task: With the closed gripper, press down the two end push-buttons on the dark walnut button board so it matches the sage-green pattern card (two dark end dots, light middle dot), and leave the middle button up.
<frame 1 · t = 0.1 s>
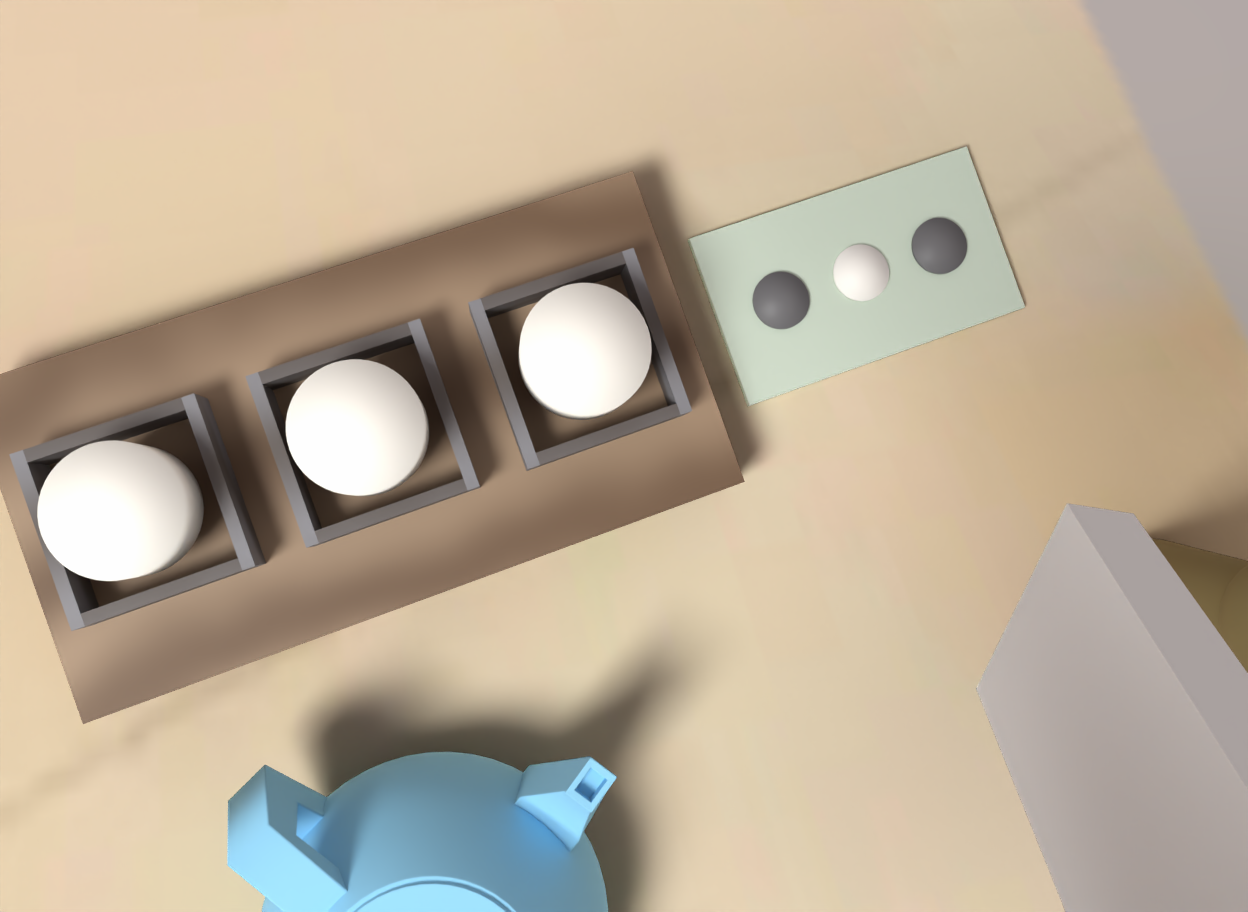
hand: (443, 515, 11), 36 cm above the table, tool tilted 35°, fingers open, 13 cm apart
button board: (377, 440, 46), on the table
teapot: (445, 909, 46), on the table
end button b: (123, 510, 39), point 6 cm above the table, slide at 0.0 cm
pattern card: (857, 275, 49), on the table
middle button: (360, 429, 40), point 6 cm above the table, slide at 0.0 cm
end button a: (583, 353, 42), point 6 cm above the table, slide at 0.0 cm
olive game pawn: (1146, 601, 50), on the table
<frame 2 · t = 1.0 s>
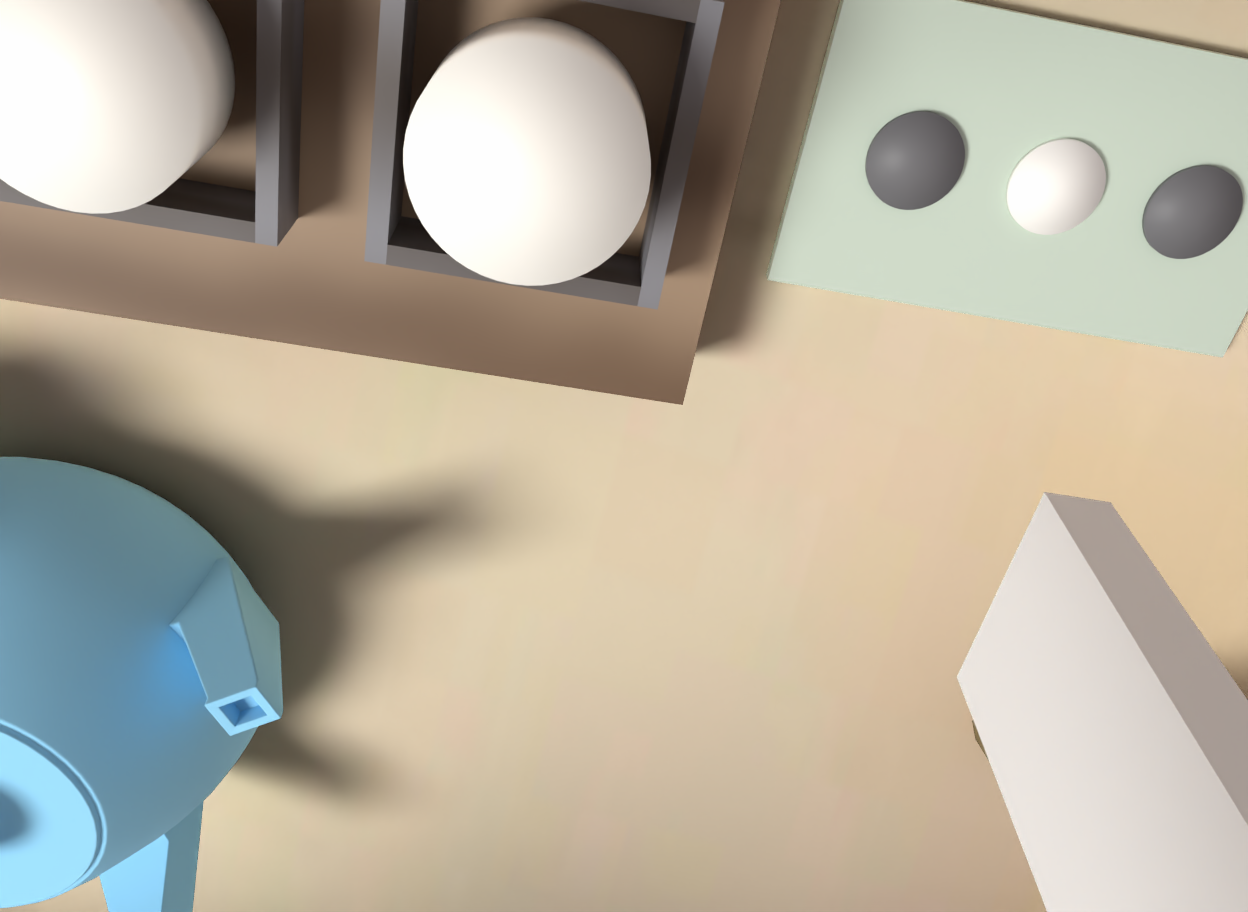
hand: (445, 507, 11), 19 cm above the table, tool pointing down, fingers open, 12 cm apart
button board: (189, 21, 27), on the table
teapot: (87, 605, 37), on the table
pattern card: (1048, 181, 29), on the table
middle button: (91, 73, 22), point 6 cm above the table, slide at 0.0 cm
end button a: (531, 152, 23), point 6 cm above the table, slide at 0.0 cm
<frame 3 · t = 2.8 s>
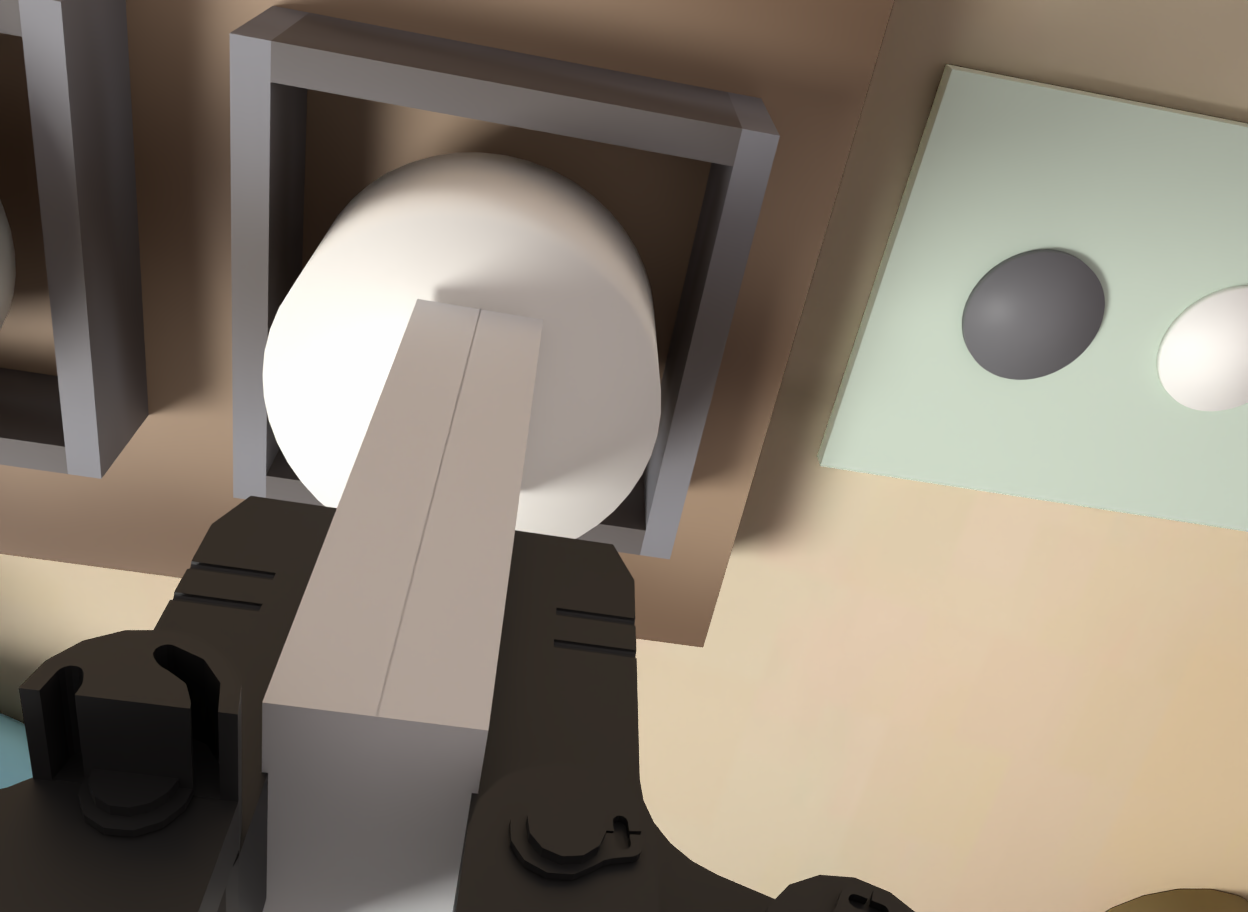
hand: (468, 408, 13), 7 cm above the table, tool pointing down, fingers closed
pattern card: (1215, 338, 21), on the table
end button a: (474, 361, 15), point 6 cm above the table, slide at 0.2 cm, touching gripper
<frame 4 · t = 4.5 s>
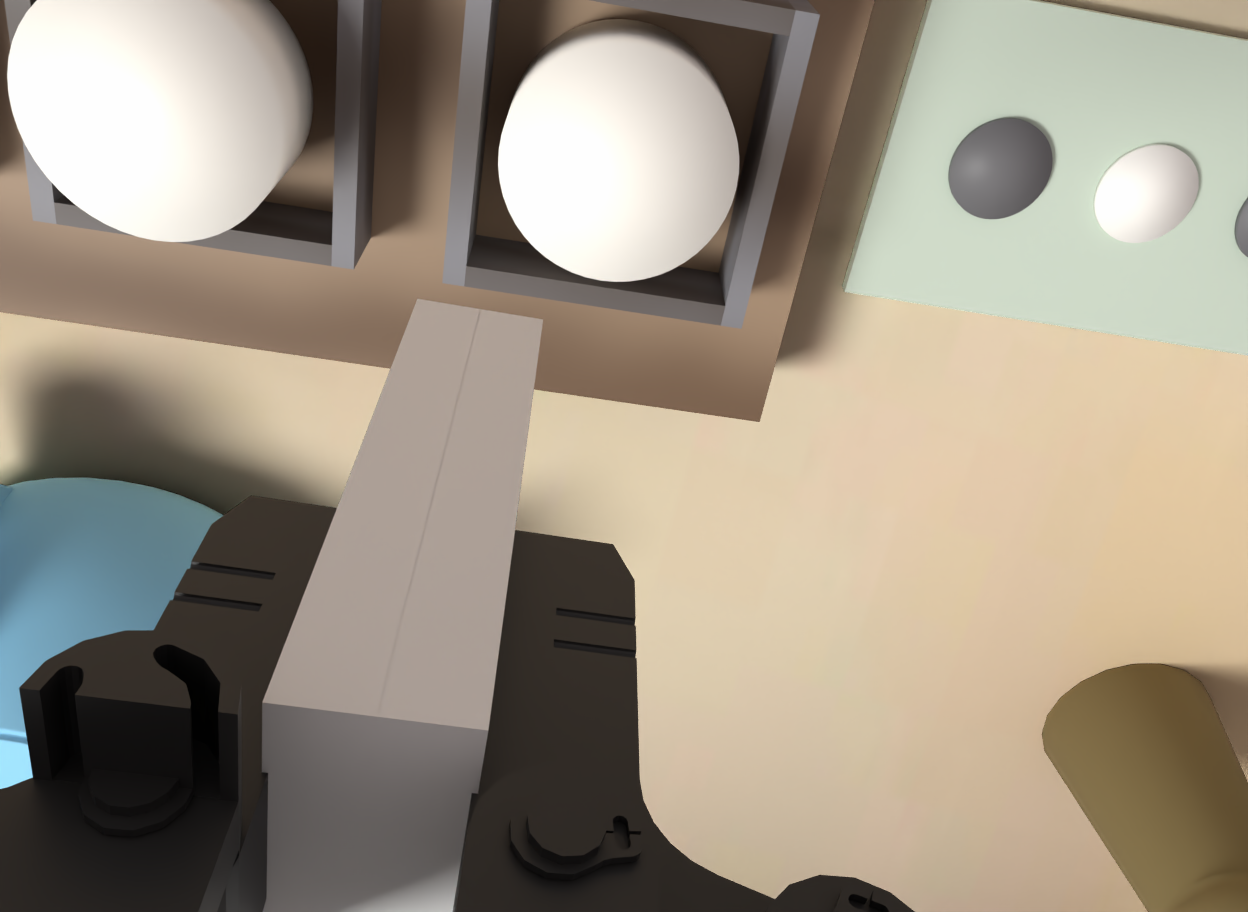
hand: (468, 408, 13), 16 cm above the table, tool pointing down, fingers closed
button board: (257, 37, 26), on the table
teapot: (148, 622, 37), on the table
pattern card: (1137, 188, 28), on the table
middle button: (170, 98, 21), point 6 cm above the table, slide at 0.0 cm
end button a: (618, 151, 23), point 5 cm above the table, slide at 1.5 cm
olive game pawn: (1123, 720, 39), on the table
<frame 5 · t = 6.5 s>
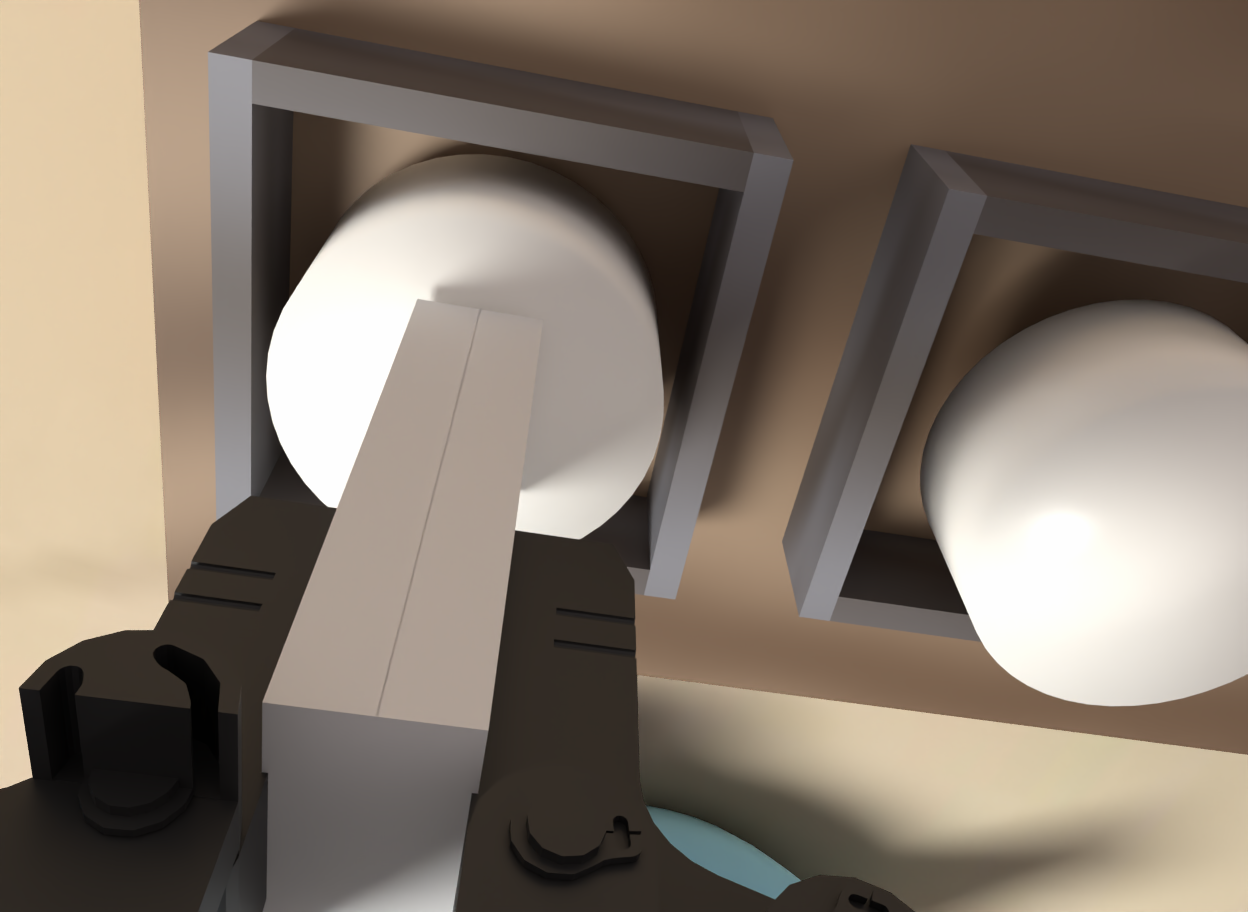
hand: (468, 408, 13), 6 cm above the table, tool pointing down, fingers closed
button board: (992, 320, 20), on the table
end button b: (477, 362, 15), point 5 cm above the table, slide at 1.2 cm, touching gripper
middle button: (1127, 506, 15), point 6 cm above the table, slide at 0.0 cm
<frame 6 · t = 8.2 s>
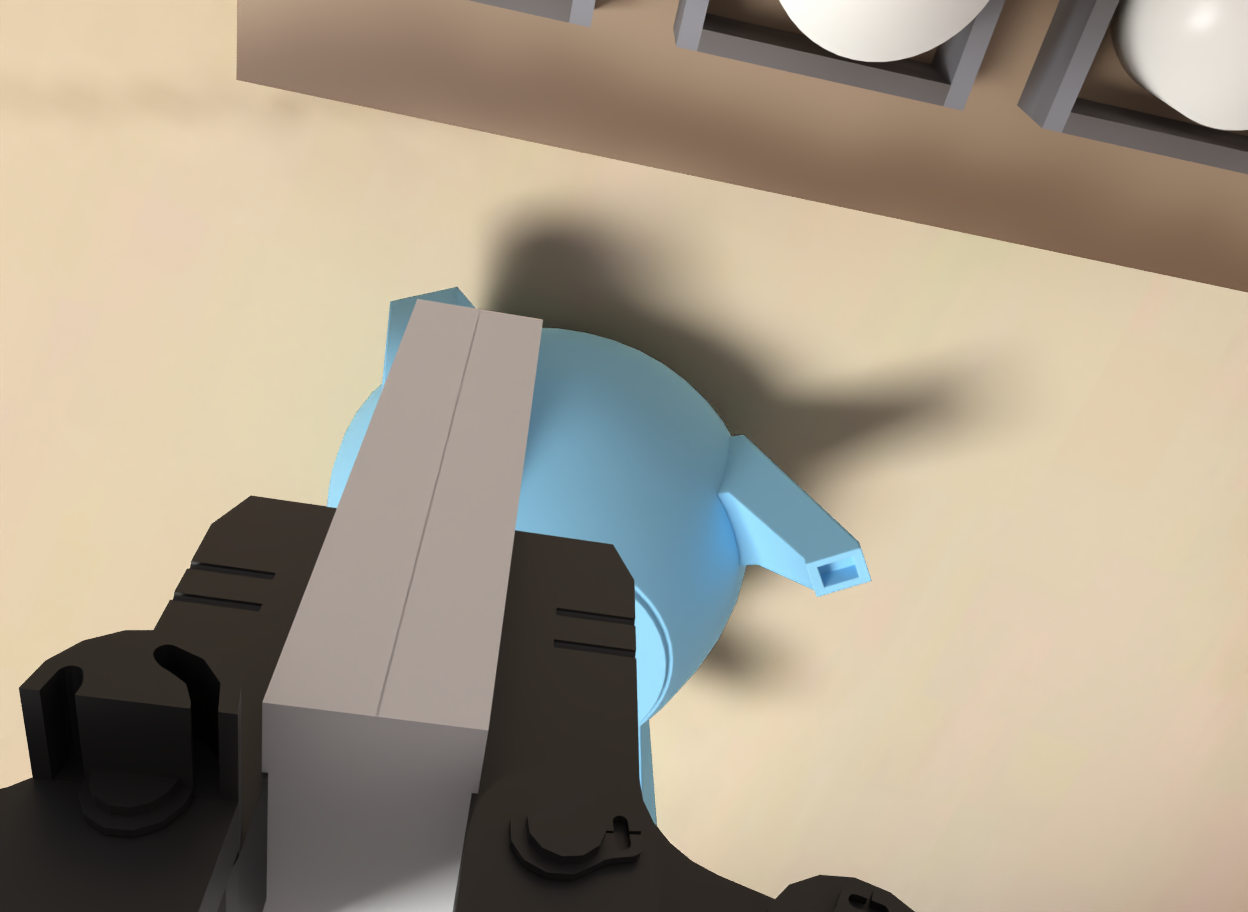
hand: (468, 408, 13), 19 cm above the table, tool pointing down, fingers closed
teapot: (548, 485, 38), on the table
end button a: (1243, 4, 24), point 5 cm above the table, slide at 1.5 cm
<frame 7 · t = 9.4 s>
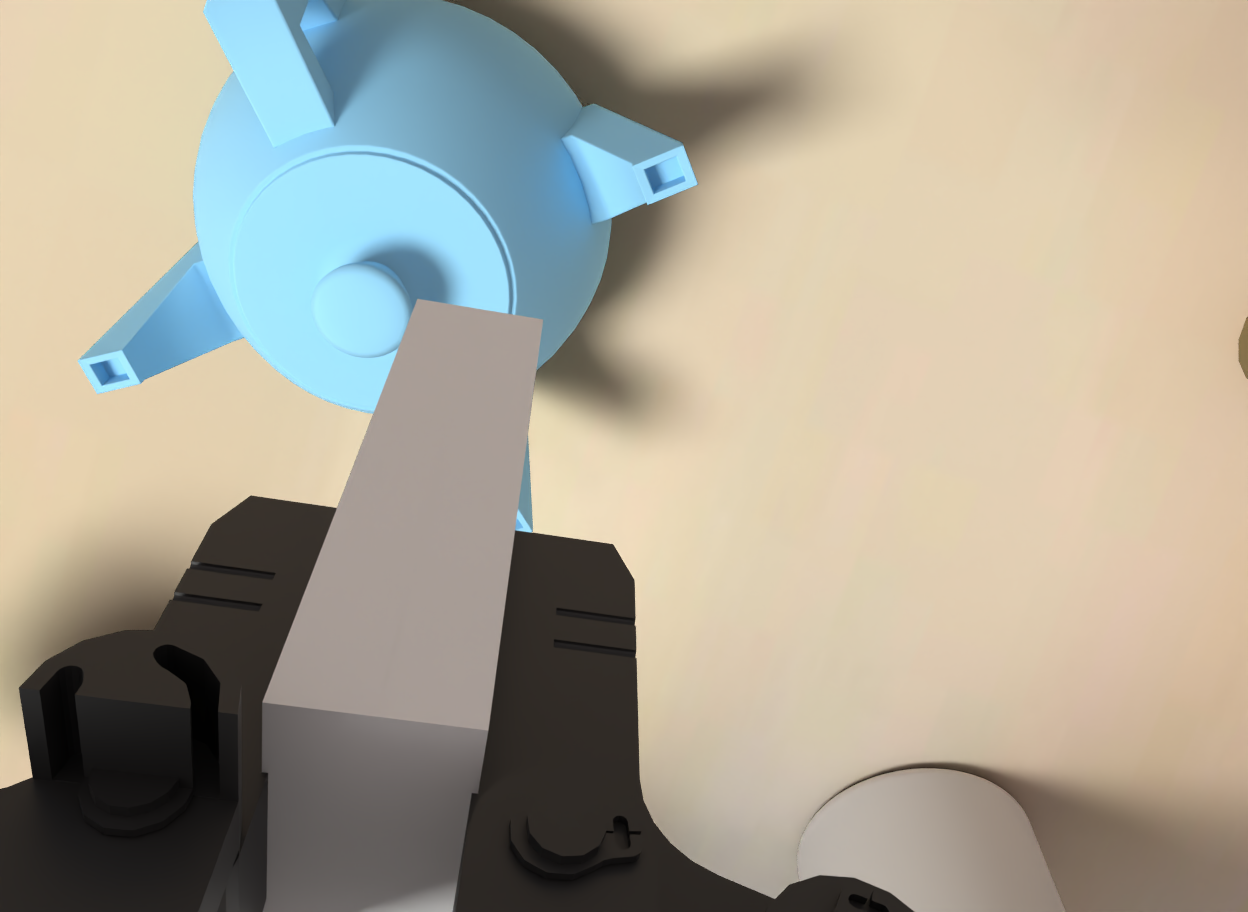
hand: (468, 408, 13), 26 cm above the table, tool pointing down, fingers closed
cylinder vase: (909, 837, 58), on the table
teapot: (423, 195, 39), on the table
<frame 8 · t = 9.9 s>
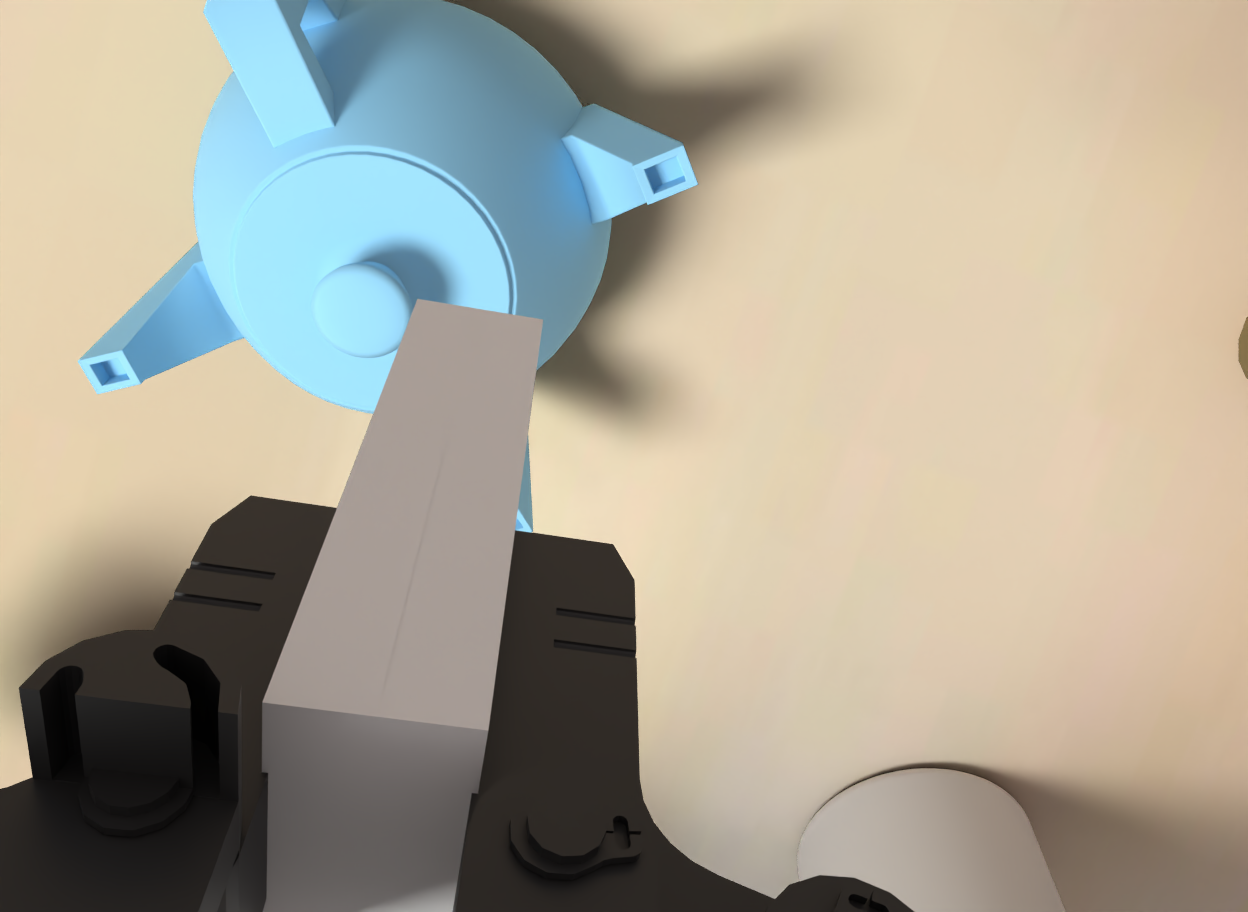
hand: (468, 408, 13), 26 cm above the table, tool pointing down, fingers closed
cylinder vase: (909, 837, 58), on the table
teapot: (423, 195, 39), on the table
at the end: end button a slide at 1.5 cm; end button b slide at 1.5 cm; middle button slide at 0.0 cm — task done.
